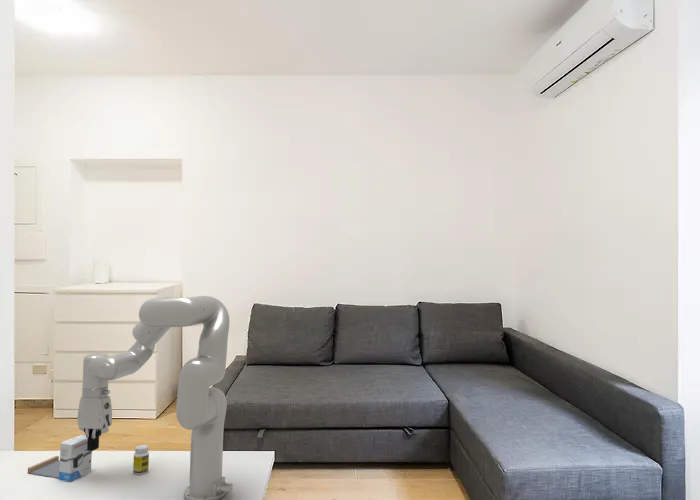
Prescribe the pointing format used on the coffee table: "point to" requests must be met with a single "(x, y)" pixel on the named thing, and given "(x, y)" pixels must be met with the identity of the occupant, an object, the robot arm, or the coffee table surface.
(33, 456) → the coffee table surface
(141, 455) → the supplement bottle
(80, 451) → the ink box
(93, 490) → the coffee table surface
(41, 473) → the mat
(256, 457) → the coffee table surface
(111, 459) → the coffee table surface
